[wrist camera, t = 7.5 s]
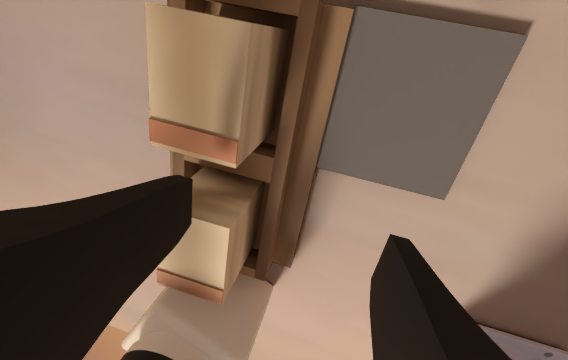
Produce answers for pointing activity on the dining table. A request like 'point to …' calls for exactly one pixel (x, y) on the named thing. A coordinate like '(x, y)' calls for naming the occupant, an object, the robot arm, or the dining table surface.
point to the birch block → (212, 83)
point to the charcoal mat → (412, 98)
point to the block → (215, 235)
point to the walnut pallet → (284, 117)
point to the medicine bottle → (200, 325)
